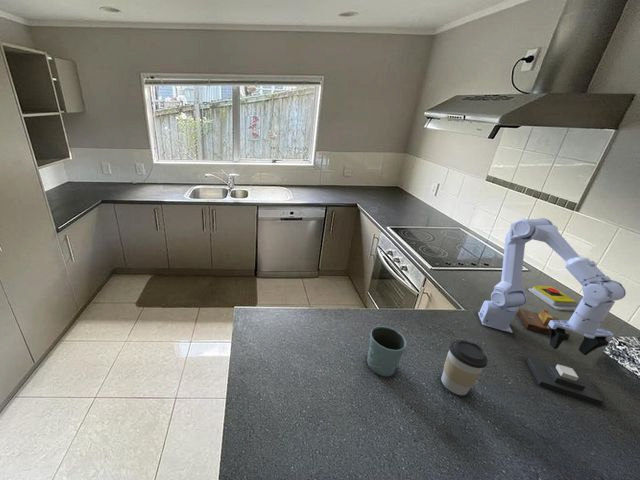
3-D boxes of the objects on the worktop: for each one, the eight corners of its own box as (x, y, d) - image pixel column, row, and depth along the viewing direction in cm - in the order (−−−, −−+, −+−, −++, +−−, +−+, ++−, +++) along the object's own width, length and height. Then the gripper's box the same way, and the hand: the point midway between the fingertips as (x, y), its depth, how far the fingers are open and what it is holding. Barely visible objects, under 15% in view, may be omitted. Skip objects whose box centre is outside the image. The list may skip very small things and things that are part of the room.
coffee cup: (455, 402, 80) (473, 364, 75) (430, 375, 88) (444, 339, 83) (479, 394, 83) (498, 357, 77) (452, 369, 91) (467, 333, 85)
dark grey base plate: (538, 385, 86) (543, 377, 85) (526, 361, 95) (530, 353, 93) (600, 405, 81) (607, 397, 80) (581, 378, 89) (587, 370, 88)
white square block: (560, 376, 86) (563, 372, 85) (554, 367, 89) (557, 363, 88) (576, 381, 84) (578, 377, 84) (569, 372, 88) (572, 368, 87)
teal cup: (402, 367, 91) (411, 339, 86) (388, 385, 85) (397, 356, 80) (373, 347, 98) (380, 321, 93) (358, 363, 92) (364, 335, 87)
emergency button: (550, 282, 133) (584, 302, 119) (546, 289, 134) (579, 310, 120) (530, 281, 133) (562, 301, 119) (526, 289, 134) (557, 310, 120)
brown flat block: (526, 328, 109) (529, 323, 108) (517, 313, 118) (519, 308, 117) (567, 339, 105) (570, 334, 104) (554, 322, 113) (557, 317, 112)
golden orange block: (548, 325, 108) (553, 317, 106) (543, 324, 108) (547, 316, 107) (543, 317, 112) (547, 310, 110) (538, 316, 112) (542, 308, 111)
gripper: (568, 319, 83) (548, 353, 88) (631, 330, 79) (606, 365, 84) (552, 304, 89) (534, 337, 94) (610, 314, 85) (588, 347, 90)
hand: (567, 349), depth 90 cm, fingers open, 7 cm apart
